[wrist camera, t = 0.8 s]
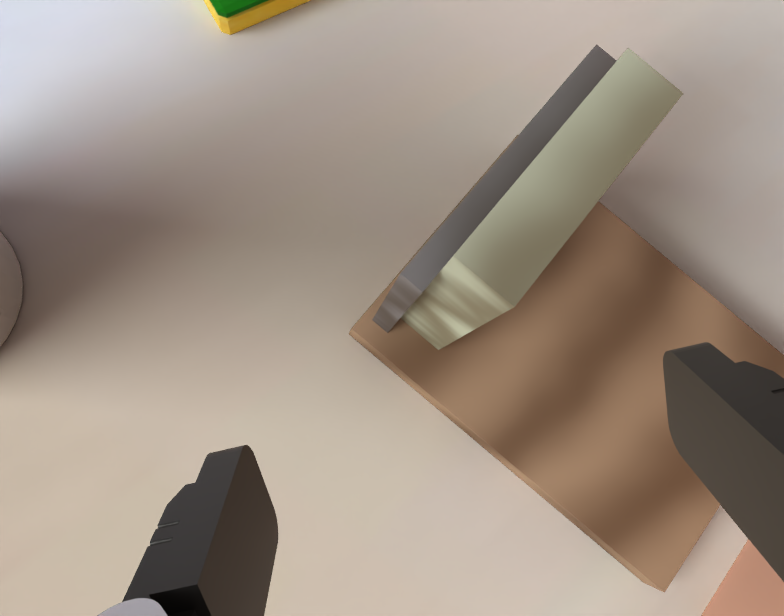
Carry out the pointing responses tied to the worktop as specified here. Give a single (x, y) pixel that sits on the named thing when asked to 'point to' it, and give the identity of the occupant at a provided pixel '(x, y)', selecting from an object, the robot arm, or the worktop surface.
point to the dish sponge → (246, 12)
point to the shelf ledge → (566, 323)
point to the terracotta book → (748, 588)
